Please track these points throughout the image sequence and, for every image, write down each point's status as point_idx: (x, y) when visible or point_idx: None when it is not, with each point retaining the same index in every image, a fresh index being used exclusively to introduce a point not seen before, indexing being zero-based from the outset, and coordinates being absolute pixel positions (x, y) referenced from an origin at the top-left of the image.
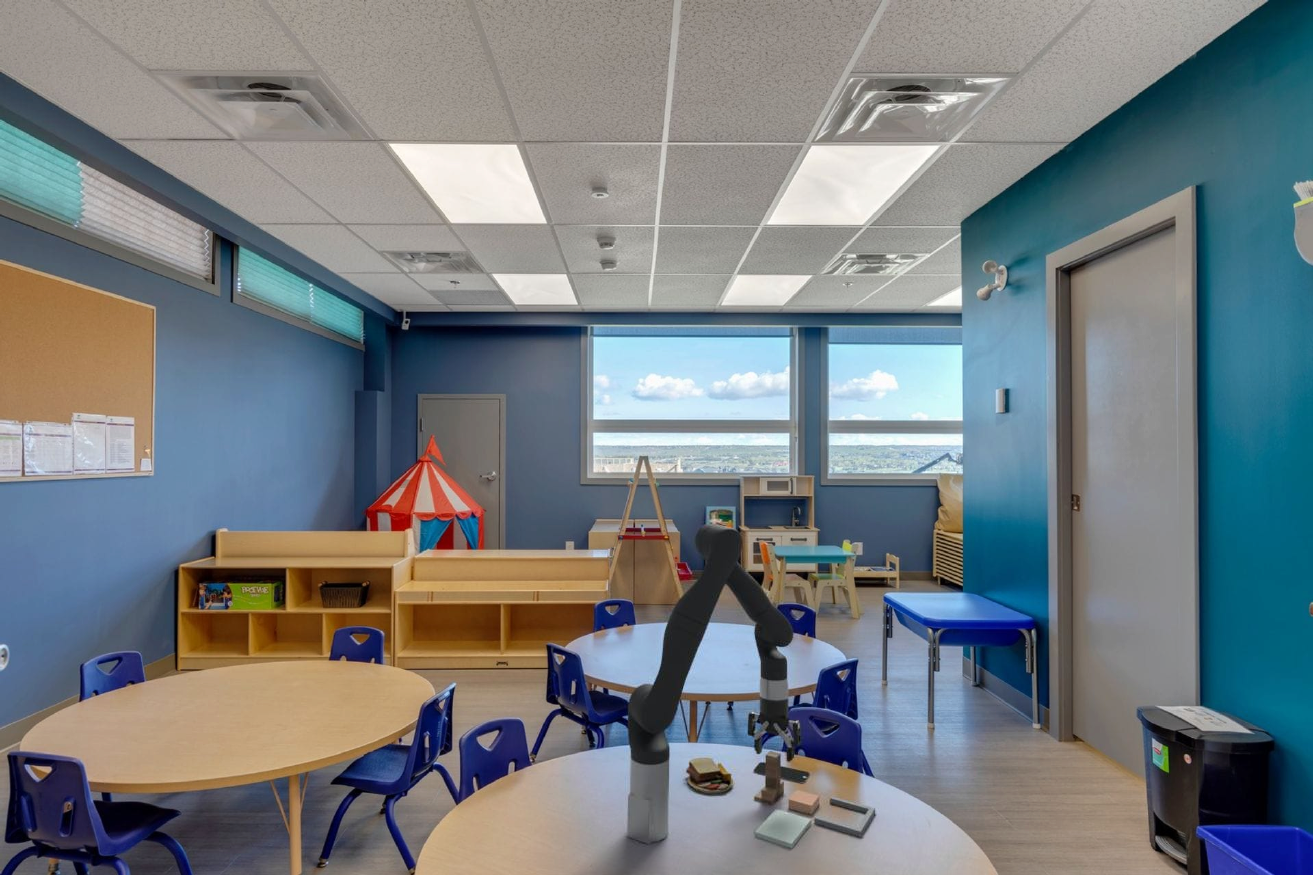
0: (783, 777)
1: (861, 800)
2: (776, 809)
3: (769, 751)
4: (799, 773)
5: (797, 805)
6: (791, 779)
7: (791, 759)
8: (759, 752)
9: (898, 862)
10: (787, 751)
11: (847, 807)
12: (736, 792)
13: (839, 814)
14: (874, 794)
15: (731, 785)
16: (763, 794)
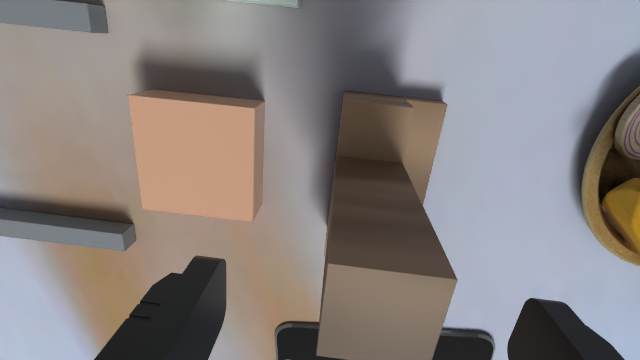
0: None
1: (53, 286)
2: (295, 3)
3: (430, 358)
4: None
5: (212, 100)
6: None
7: (170, 276)
8: (530, 317)
9: None
10: (166, 330)
11: (63, 216)
12: (547, 131)
13: (59, 147)
14: (43, 339)
15: (590, 160)
16: (397, 102)
